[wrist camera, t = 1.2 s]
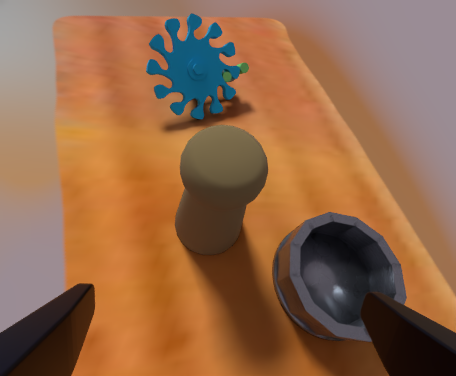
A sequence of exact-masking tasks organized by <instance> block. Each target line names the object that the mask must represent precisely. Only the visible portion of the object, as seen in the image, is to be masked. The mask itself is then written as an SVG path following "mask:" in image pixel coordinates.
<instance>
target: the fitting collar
mask: <svg viewBox="0 0 456 376" xmlns="http://www.w3.org/2000/svg"><path fill="white" fill-rule="evenodd" d="M272 276H273V283H274V287H275V291H276V294H277V297H278V299H279V301H280V303H281V305H282V307H283V308H284V310H285V311H286V313H287V314H288V315H289V317H290V318H291V319H292V320H293V321H294V322H295V323H296V324H297V325H298V326H299V327H301V328H302V329H303V330H304V331H306V332H308V333H310V334H311V335H313V336H316V337H318V338H322V339H326V340H334V341H344V340H353V341H364V342H371V341H372V340H371V338H370V336H369V334H368V332H367V329H366V327H365V325H364V323H363V321H362V319H361V315H360V311H361V307H362V304H363V301H364V298H365V295H366V294H367V293H368V292H380V293H382V294H384V295H386V296H388V297H390V298H392V299H393V300H395V301H397V302H399V303H401V304H403V305H404V304H405V301H406V298H407V297H406V291H405V286H404V280H403V275H402V269H401V264H400V263H399V261H398V260H397V258H396V257H395V255H394V254H393V252H392V250H391V249H390V247H389V246H388V244H387V243H386V241H385V240H384V238H383V236H381V235H380V234H379V233H377V232H376V231H375V230H373V229H372V228H370V227H369V226H368V225H366V224H365V223H364V222H362V221H361V220H359V219H358V218H356V217H351V216H346V215H342V214H337V213H332V212H328V213H325V214H323V215H320V216H317V217H314V218H311V219H308V220H306V221H304V222H303V223H302V224H301V225H300V226H298V227H297V228H296V229H295V230H293V231H292V232H291V233H289V234H288V235H287V236H286V237H285V238H284V239H283V240H282V242H281V243H280V245H279V246H278V248H277V250H276V253H275V256H274V260H273V267H272Z"/></svg>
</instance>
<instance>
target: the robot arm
mask: <svg viewBox="0 0 456 376" xmlns="http://www.w3.org/2000/svg"><path fill="white" fill-rule="evenodd" d="M94 310H95V290H94V285H93V284H85V283H80V284H77V285H75V286H74V287H72V288H71V289H69V290H67V291H66V292H64V293H63V294H61V295H59V296H58V297H56V298H55V299H53V300H52V301H50V302H48V303H47V304H45V305H44V306H42V307H40V308H39V309H37V310H36V311H35V312H33V313H31V314H30V315H28V316H27V317H25V318H23V319H22V320H20V321H18V322H17V323H15V324H14V325H12V326H11V327H9V328H7V329H6V330H4V331H3V332H1V333H0V376H71V375H72V372H73V370H74V368H75V365H76V363H77V360H78V357H79V354H80V351H81V349H82V346H83V343H84V340H85V337H86V334H87V332H88V329H89V326H90V323H91V320H92V318H93V315H94ZM360 315H361V319H362V321H363V323H364V325H365V327H366V329H367V332H368V334H369V336H370V338H371V340H372V342H373V344H374V346H375V349H376V351H377V353H378V355H379V357H380V359H381V361H382V363H383V365H384V367H385V369H386V370H387V372H388V374H389V376H456V333H455V332H453V331H451V330H449V329H447V328H446V327H444V326H442V325H440V324H438V323H436V322H434V321H432V320H431V319H429V318H427V317H425V316H423V315H421V314H419V313H418V312H416V311H414V310H412V309H410V308H408V307H406V306H405V305H403V304H401V303H399V302H397V301H395V300H393V299H392V298H390V297H388V296H386V295H384V294H382V293H380V292H368V293H367V294H366V295H365V298H364V301H363V304H362V307H361V311H360Z"/></svg>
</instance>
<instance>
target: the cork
mask: <svg viewBox="0 0 456 376" xmlns="http://www.w3.org/2000/svg"><path fill="white" fill-rule="evenodd" d="M180 174H181V178H182V181H183V185H184V187H185V189H184V192H183V195H182V198H181V201H180V204H179V207H178V210H177V213H176V218H175V228H176V232H177V235H178V237H179V238H180V240H181V242H182V243H183V244H184V245H185V246H186V247H187V248H189V249H190V250H191V251H193V252H196V253H199V254H202V255H215V254H218V253H222V252H224V251H226V250H227V249H229V248H230V247H231V246H233V244H234V243H235V241H236V240H237V239H238V237H239V233H240V230H241V226H242V222H243V218H244V213H245V209H246V205H247V204H248V203H250V202H252V201H253V200H254V199H255V198H256V197H257V195H258V194H259V193H260V191H261V190H262V189H263V187H264V185H265V182H266V178H267V174H268V164H267V157H266V155H265V153H264V151H263V149H262V146H261V144H260V143H259V142H258V141H257V140H256V139H255V138H254V136H252V135H251V134H249V133H248V132H246V131H245V130H243V129H240V128H237V127H234V126H228V125H217V126H210V127H208V128H206V129H204V130H202V131H200V132H198V133H197V134H195V135H194V136H193V137H192V138H191V139H190V140H189V141H188V143H187V145H186V147H185V149H184V151H183V153H182V155H181V163H180Z"/></svg>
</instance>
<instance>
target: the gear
mask: <svg viewBox="0 0 456 376" xmlns="http://www.w3.org/2000/svg"><path fill="white" fill-rule="evenodd" d="M201 23H202V19H201V18H200V17H199V16H197V15H195V14H190V15H189V17H188V18H187V25H188V33H187V37H186V39H185V41H180V40H179V39H178V37H177V32H178V30H179V28H180V22H179V20H178V19H175V18H174V19H169V20H166V22H165V29H166V30H167V32H168V33H169V35H170V36H171V39H172V43H173V52H171V53H169V52H167V51H166V50H165V48H164V40H163V38H162V36H161V35H159V34H157V35H156V36H154V37H153V38H152V40H151V41H150V43H149V45H150V47H151V48H152V49H153V50H155V51H157V52H159V53H160V54H161V55H162V56H163V57H164V58H165V60H166V62H167V63H168V69H167V70H163V69H161V67H160V66H159V64H158V62H157V61H155V60H153V59H150V60H149V61H148V63H147V68H146V72H147V73H148V74H150V75H155V74H159V75H163V76H165V77H167V78H168V79H170V80H171V81H172V87H171V88H170V89H169V88H166V87H165V86H163V85H157V86H155V87H154V91H155V94H156V97H157V98H158V99H161V98H164V97H165V96H166V95H168V94H169V93H171V92H180V93H181V94H182V95H183V100H182V102H174V103H172V104H171V105H170V108H171V110H172V111H173V112H174V113H175V114H176V115H181V114H182V113H183V111H184V107H185V105H186V104H187V103H188V102H189V101H190V100H192V99H193V98H194V99H196V100H197V101H198V105H197V107H196V108H194V109H193V110H192V111H191V113H190V115H191V117H193V118H196V119H203V117H204V112H203V105H204V102H205V100H206V98H207V96H210V97H211V98H212V103H211V105H210V108H209V110H210V112H211V113H219V112H222V111H223V107H222V105H221V104H220V102H219V100H218V97H217V87H218V86H221V87H222V89H223V97H224V98H225V99H226V100H230V99H231V98H233V96H234V95H235V94H236V91H235V89H234V88H232V87H230V86H228V85H227V84H226V82H231V81H234V80H235V79H237V78H238V76H239V74H242V73H246V72H247V71H248V69H249V67H248V64H247V63H241V64H238V65H237V66H228V65H226V64H224V63H223V62H222V61H220V59H219V54H220V53H222V54H223V55H225V56H226V57H231V56H233V55H235V47H234V44H233V43H232V42H229V43H227V44H225V45H224V46H223V47H221V48H213V47H211V46H210V44H209V39H210V38H212V39H216V38H218V37H219V36H221V35H222V30H221V28H220V27H219V25H218V24H217V23H216V22H215V23H213V24H212V25H210V27H209V28H208V32H207V34H206V36H205V37H204V38H202V39H200V40H198V39H196V38H195V37H194V30H196V29H197V28H198V27H200V25H201Z"/></svg>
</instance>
